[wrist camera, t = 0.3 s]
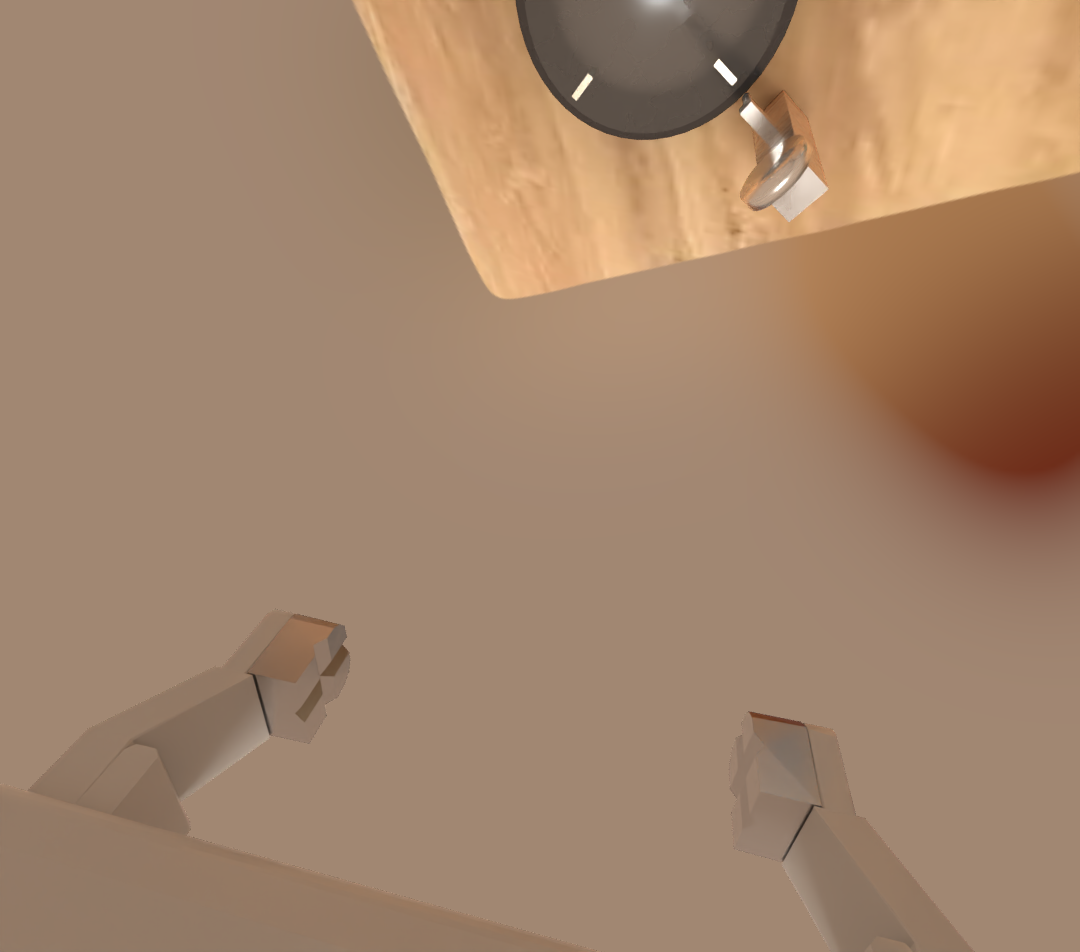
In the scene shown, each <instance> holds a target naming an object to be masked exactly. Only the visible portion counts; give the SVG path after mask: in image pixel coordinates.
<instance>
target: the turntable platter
mask: <svg viewBox="0 0 1080 952" xmlns="http://www.w3.org/2000/svg"><path fill="white" fill-rule="evenodd" d="M785 2H786V0H525V9H526V15H527V21H528V26H529V30H530V34H531V37H532V41H533V44H534V47H535V50H536V52H537V54H538V57H539V59H540V62H541V64H542V66H543V68H544V69H545V71H546V73H547V75H548V77H549V78H550V80H551V81H552V83H553V84H554V85H555V87H556V88H557V90H558V91H559V92H560V93H561V94H562V95H563V97H564V98H565V99H566V100H567V101H568V102H569V103H570V104H571V105H572V106H574V107H575V108H576V109H577V110H578V111H580V112H581V113H582V114H584V115H585V116H587V117H588V118H590V119H592V120H593V121H595V122H597V123H599V124H602V125H604V126H606V127H608V128H612V129H616V130H619V131H623V132H630V133H657V132H663V131H668V130H672V129H675V128H679V127H682V126H684V125H687V124H689V123H691V122H693V121H696V120H698V119H699V118H701V117H703V116H704V115H706V114H708V113H709V112H711V111H713V110H714V109H715V108H716V107H718V106H719V105H720V104H722V103H723V102H724V101H726V100H727V99H728V98H729V97H730V96H731V95H732V94H733V93H734V92H735V91H736V90H737V89H738V88H739V87H740V86H741V85H742V83H743V82H744V81H745V80H746V79H747V77H748V76H749V75H750V74H751V73H752V71H753V70H754V68H755V67H756V65H757V64H758V62H759V61H760V59H761V58H762V56H763V54H764V53H765V51H766V49H767V47H768V45H769V43H770V41H771V39H772V37H773V35H774V33H775V30H776V28H777V25H778V23H779V20H780V18H781V15H782V12H783V8H784V5H785Z"/></svg>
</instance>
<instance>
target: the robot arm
mask: <svg viewBox="0 0 1080 952" xmlns="http://www.w3.org/2000/svg"><path fill="white" fill-rule="evenodd" d="M346 638H347V635H346V630H345V626H343V625H340V624H337V623H332V622H328V621H324V620H320V619H316V618H312V617H307V616H304V615H300V614H295V613H291V612H286V611H282V610H278V609H275V610H273V611H271V612H269V613H268V614H267V615H266V616H265V617H264V618H263V619H262V621H261V622H260V623H259V624H258V625H257V627H256V628H255V629H254V630H253V631H252V632H251V634H250V635H249V636H248V637H247V638H246V639H245V641H244V642H243V643H242V644H241V646H239V648H238V649H237V650H236V651H235V652H234V654H233V655H232V656H231V657H230V658H229V659H228V661H227V662H226V663H225V664H224V665H223V667H222V668H221V667H216V666H215V667H213V668H211V669H208V670H207V671H205V672H202V673H200V674H199V675H196V676H194V677H192V678H190V679H188V680H186V681H184V682H182V683H180V684H178V685H176V686H174V687H172V688H170V689H168V690H166V691H164V692H162V693H160V694H158V695H156V696H154V697H152V698H150V699H148V700H146V701H144V702H141V703H139V704H138V705H135V706H133V707H131V708H129V709H127V710H125V711H123V712H121V713H119V714H117V715H115V716H113V717H111V718H109V719H107V720H105V721H103V722H101V723H99V724H97V725H95V726H93V727H91V728H89V729H88V730H87V731H85V733H83V735H82V736H81V737H80V738H79V739H78V740H77V741H76V742H75V743H74V744H73V745H72V746H71V747H70V748H69V749H68V750H67V751H66V752H65V753H64V754H63V755H62V756H61V757H60V758H59V759H58V760H57V761H56V762H55V763H54V764H53V765H52V766H51V767H50V768H49V769H48V770H47V771H46V772H45V773H44V774H43V775H42V776H41V777H40V778H39V779H38V780H37V781H36V782H35V783H34V785H32V787H30V789H29V790H28V791H26V790H23V789H19V788H16V787H12V786H8V785H5V784H1V783H0V952H600V951H597V950H593V949H589V948H586V947H582V946H579V945H575V944H572V943H568V942H564V941H561V940H557V939H554V938H550V937H547V936H543V935H540V934H536V933H532V932H529V931H525V930H522V929H518V928H514V927H511V926H508V925H504V924H501V923H497V922H493V921H490V920H486V919H483V918H479V917H475V916H472V915H468V914H465V913H461V912H457V911H454V910H451V909H447V908H443V907H440V906H436V905H433V904H429V903H426V902H422V901H418V900H415V899H412V898H408V897H404V896H400V895H397V894H393V893H390V892H387V891H383V890H379V889H376V888H372V887H369V886H365V885H362V884H358V883H355V882H351V881H347V880H344V879H340V878H337V877H333V876H330V875H326V874H322V873H318V872H315V871H312V870H308V869H304V868H301V867H297V866H294V865H290V864H287V863H283V862H279V861H276V860H272V859H269V858H265V857H261V856H258V855H255V854H251V853H247V852H244V851H240V850H237V849H233V848H229V847H226V846H222V845H219V844H215V843H212V842H208V841H204V840H201V839H197V838H194V837H190V836H187V834H188V833H189V831H190V830H191V828H190V821H189V819H188V817H187V814H186V812H185V810H184V808H183V806H182V804H181V801H183V800H184V799H185V798H187V797H188V796H190V795H191V794H192V793H194V792H195V791H197V790H198V789H200V788H201V787H202V786H204V785H205V784H206V783H208V782H209V781H211V780H212V779H213V778H215V777H216V776H217V775H219V774H220V773H222V772H223V771H224V770H226V769H227V768H229V767H230V766H231V765H233V764H234V763H236V762H237V761H238V760H240V759H241V758H242V757H244V756H245V755H247V754H248V753H249V752H251V751H252V750H254V749H255V748H256V747H258V746H259V745H261V744H262V743H263V742H265V741H266V740H268V739H269V738H270V735H271V736H276V737H281V738H286V739H290V740H295V741H299V742H304V743H308V744H309V743H310V742H311V740H312V738H313V737H314V735H315V734H316V732H317V730H318V729H319V727H320V725H321V724H322V722H323V720H324V719H325V717H326V709H325V704H327V703H329V702H330V701H332V700H334V699H335V698H337V697H338V696H339V694H340V692H341V690H342V688H343V687H344V685H345V682H346V679H347V675H348V673H349V668H350V655H349V652H348V650H347V649H346V648H345V647H344V646H343V645H342V644H343V642H344V640H345V639H346ZM729 781H730V790H731V791H732V793H733V794H734V796H735V797H736V799H737V800H736V802H735V805H734V807H733V810H732V812H731V814H732V829H733V844H734V849H736V850H740V851H743V852H747V853H751V854H754V855H758V856H761V857H765V858H769V859H772V860H776V861H780V862H783V863H782V866H783V868H784V870H785V871H786V873H787V875H788V877H789V879H790V880H791V882H792V884H793V886H794V887H795V889H796V891H797V893H798V894H799V896H800V898H801V900H802V901H803V903H804V905H805V907H806V909H807V910H808V912H809V914H810V916H811V918H812V919H813V921H814V923H815V925H816V926H817V928H818V930H819V932H820V933H821V935H822V937H823V939H824V941H825V942H826V944H827V946H828V947H829V949H830V951H831V952H974V951H973V950H972V949H971V947H970V946H969V945H968V943H967V942H966V941H965V940H964V939H963V937H962V936H961V935H960V934H959V933H958V931H957V930H956V929H955V928H954V926H953V925H952V924H951V923H950V921H949V920H948V919H947V918H946V917H945V915H944V914H943V913H942V912H941V910H940V909H939V908H938V907H937V906H936V904H935V903H934V902H933V901H932V900H931V898H930V897H929V896H928V895H927V893H926V892H925V891H924V890H923V888H922V887H921V886H920V885H919V884H918V883H917V881H916V880H915V879H914V877H913V876H912V875H911V874H910V873H909V871H908V870H907V869H906V868H905V866H904V865H903V864H902V863H901V862H900V860H899V859H898V858H897V857H896V855H895V854H894V853H893V852H892V851H891V850H890V848H889V847H888V846H887V844H886V843H885V842H884V841H883V840H882V838H881V837H880V836H879V835H878V834H877V832H876V831H875V830H874V829H873V827H872V826H871V825H870V824H869V823H868V821H867V820H866V819H865V818H863V817H859V816H856V813H855V809H854V805H853V801H852V797H851V793H850V789H849V785H848V781H847V777H846V773H845V769H844V765H843V760H842V756H841V752H840V748H839V744H838V740H837V736H836V734H835V732H834V731H833V730H832V729H829V728H825V727H821V726H815V725H811V724H807V723H802V722H799V721H794V720H790V719H785V718H780V717H775V716H770V715H764V714H760V713H755V712H750V711H748V712H747V713H746V714H745V716H744V718H743V721H742V735H741V736H739V737H737V738H736V739H735V742H734V745H733V748H732V752H731V758H730V768H729Z"/></svg>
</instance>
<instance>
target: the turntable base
mask: <svg viewBox="0 0 1080 952" xmlns="http://www.w3.org/2000/svg"><path fill="white" fill-rule="evenodd" d="M797 1H798V0H786V2H785V5H784V8H783V12H782V15H781V18H780V20H779V23H778V25H777V28H776V30H775V33H774V35H773V37H772V39H771V41H770V43H769V45H768V47H767V49H766V51H765V53H764V54H763V56H762V58H761V59H760V61H759V62H758V64H757V65H756V67H755V68H754V70H753V71H752V73H751V74H750V75H749V76H748V77H747V79H746V80H745V81H744V82H743V83H742V85H741V86H740V87H739V88H738V89H737V90H736V91H735V92H734V93H733V94H732V95H731V96H730V97H729V98H728V99H727V100H726V101H724V102H723V103H722V104H720V105H719V106H718V107H716V108H715V109H714V110H713V111H711V112H709V113H708V114H706V115H704V116H703V117H701V118H699V119H698V120H696V121H693V122H691V123H689V124H687V125H684V126H682V127H679V128H675V129H672V130H668V131H663V132H657V133H630V132H623V131H619V130H616V129H612V128H608V127H606V126H604V125H602V124H599V123H597V122H595V121H593V120H592V119H590V118H588V117H587V116H585V115H584V114H582V113H581V112H580V111H578V110H577V109H576V108H575V107H574V106H572V105H571V104H570V103H569V102H568V101H567V100H566V99H565V98H564V97H563V95H562V94H561V93H560V92H559V91H558V90H557V88H556V87H555V85H554V84H553V83H552V81H551V80H550V78H549V77H548V75H547V73H546V71H545V69H544V68H543V66H542V64H541V62H540V59H539V57H538V54H537V52H536V50H535V47H534V44H533V41H532V37H531V34H530V30H529V26H528V21H527V15H526V9H525V0H516V7H517V12H518V17H519V23H520V28H521V31H522V34H523V38H524V41H525V44H526V47H527V50H528V52H529V54H530V57H531V59H532V62H533V64H534V66H535V68H536V69H537V71H538V73H539V75H540V77H541V78H542V80H543V82H544V83H545V84H546V86H547V87H548V89H549V90H550V91H551V93H552V94H553V95H554V96H555V98H556V99H557V100H558V101H559V102H560V103H561V104H562V105H563V106H564V107H565V108H566V109H567V110H568V111H570V112H571V113H572V114H573V115H574V116H576V117H577V118H578V119H580V120H581V121H583V122H585V123H586V124H588V125H589V126H591V127H593V128H595V129H598V130H600V131H602V132H604V133H607V134H610V135H614V136H617V137H621V138H628V139H636V140H653V139H660V138H667V137H671V136H675V135H678V134H682V133H685V132H688V131H690V130H692V129H694V128H697V127H699V126H701V125H703V124H705V123H707V122H708V121H710V120H712V119H713V118H715V117H717V116H718V115H719V114H721V113H722V112H723V111H725V110H726V109H727V108H729V107H730V106H731V105H733V104H734V103H735V102H736V101H737V100H738V99H739V98H740V97H741V96H742V95H743V94H744V93H745V92H746V91H747V90H748V89H749V88H750V87H751V86H752V84H753V83H754V82H755V81H756V80H757V78H758V77H759V76H760V75H761V74H762V72H763V71H764V69H765V68H766V66H767V65H768V63H769V62H770V60H771V59H772V57H773V56H774V54H775V52H776V50H777V48H778V47H779V45H780V43H781V41H782V39H783V37H784V35H785V33H786V31H787V28H788V26H789V24H790V21H791V19H792V16H793V14H794V11H795V7H796V4H797Z"/></svg>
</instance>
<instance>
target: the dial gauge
mask: <svg viewBox="0 0 1080 952" xmlns="http://www.w3.org/2000/svg"><path fill="white" fill-rule="evenodd" d="M742 100H743V106H742V107H741V108H740V109H739V111H740V115H741V116H742V117H743V118H744V119H745V120H746V121H747V122H748V124H749V125H750V126H751V127H752V130H753V138H754V145H755V153H756V161H757V166H756V167H755V168H754V170H753V171H752V172H751V174H750V175H749V176H748V178H747V180H746V181H745V183H744V185H743V187H742V189H741V193H740V198H741V200H742V201H743V202H744V203H745V204H746V205H747V206H748V207H749V208H750V209H751V210H753V211H759V210H762V209H764V208H766V207H768V206H770V205H771V204H772V205H773V206H774V207H775V208H776V209H777V210H778V211H779V212H780V214H781V215H782V216H783V217H784V218H785V219H786V220H787V221H788V222H790V221H791V220H792V219H793V218H795V217H796V216H797V215H798V214H799V213H801V212H802V211H803V210H804V209H805V208H807V207H808V206H809V205H810V204H811V203H813V202H814V201H815V200H816V199H817V198H819V197H820V196H821V195H822V194H823V193H825V192H826V191H827V190H828V189H829V188H828V185H827V181H826V178H825V175H824V171H823V168H822V165H821V161H820V158H819V155H818V151H817V148H816V145H815V141H814V138H813V134H812V131H811V128H810V124H809V121H808V118H807V117H806V116H805V114H804V113H803V112H802V111H801V110H800V109H799V108H798V106H797V105H796V104H795V103H794V102H793V101H792V100H791V98H790V97H789V96H788V95H787V94H786V93H785V92H784V90H783V91H782V92H781V94H780V95H779V96H778V97H777V98H776V99H775V100H774V101H773V102H772V103H771V104H770V105H769V106H768V107H767V108H766V109H765V110H764V111H763V110H762V109H761V108H760V107H759V106H758V105H757V104H756V103H755V101H754V100H753V99H752V98H751V95H750V93H745V94H744V95H743V97H742Z"/></svg>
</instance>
